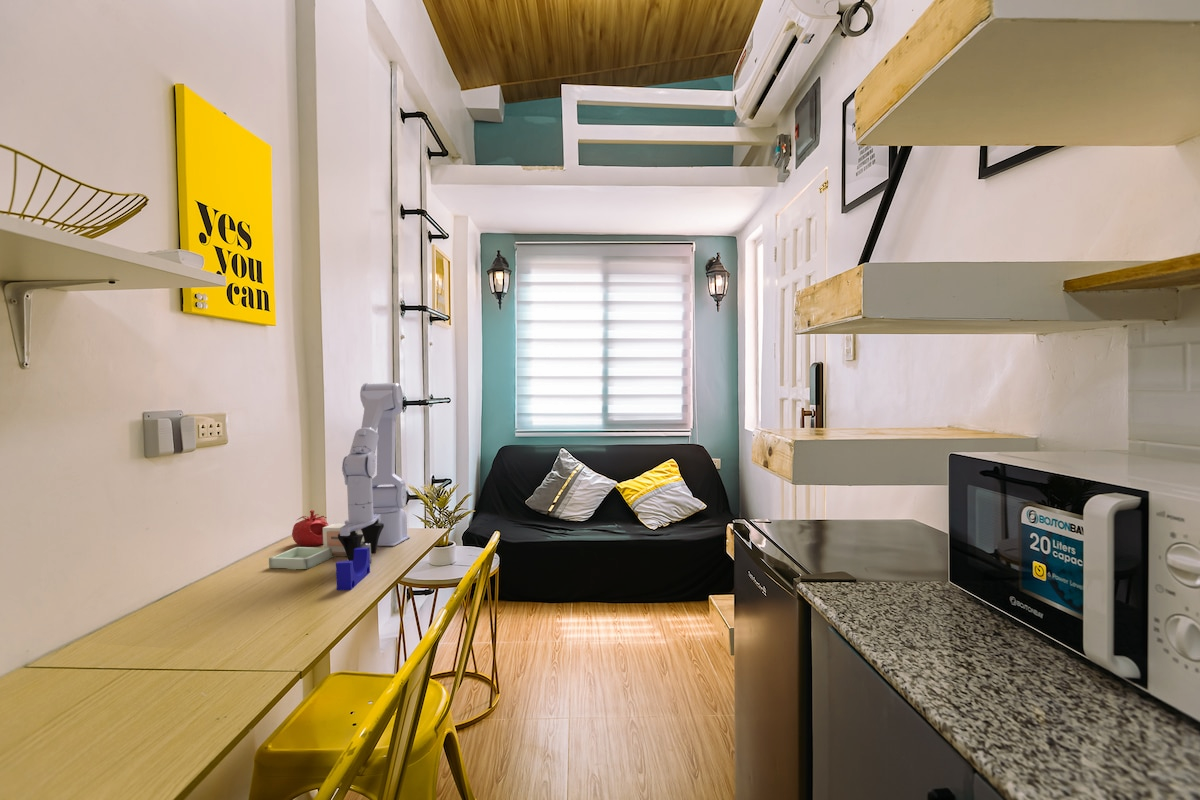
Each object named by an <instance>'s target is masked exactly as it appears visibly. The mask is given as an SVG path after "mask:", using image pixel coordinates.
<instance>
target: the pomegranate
mask: <svg viewBox="0 0 1200 800" xmlns="http://www.w3.org/2000/svg"><path fill="white" fill-rule="evenodd" d="M309 513H310V516H306V515H302V516H300V517H299V518H298V519H296V521H298V520H299V522H296V523H295V524H294V525H293V527H292V531H291V536H292V540H293V541H294V542H295V544H297V545H299V547H316V546H317V547H318V546H320V545H323V527H326V526H328V525H329V523H328V522H327V520H326V519H327V518H328V517H327V516H324V515H321V516H320V514H319V513H317V514H316V513H315V510H310V511H309ZM317 516H318V517H317ZM301 519H302V520H301ZM300 520H301V521H300Z"/></svg>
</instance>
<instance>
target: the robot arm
mask: <svg viewBox="0 0 1200 800" xmlns="http://www.w3.org/2000/svg"><path fill="white" fill-rule="evenodd" d="M403 393H404V392H403V389H402V386H401V384H399V382H393V383H392V382H389V383H388V382H387V383H386V382H382V383H381V382H380V383H367V382H366V383H363V384H362V386H361V387H360V392H359V397H360V401H361V404H362V407H363V408H364V410H363V414H362V416H363V417H362V423H361V428H359V429H357V430H356V431H355V433H354V436H353V439H352V444H351V447H350V451H349V454H348V455H346V456H344V458H343V460H342V466H341V471H342V475H343V478H344V484H345V486H346V487H347V489H346V492H347V513H348V514H347V515H348V519H346V520H344V524H345V525H344V526H343V527H341V528H340V534H338V539H339V541H340V542H341V543H342V545H343V547H344V549H345V552H346V554H347V557H346V558H347V559H348V560H347V561H353V558H354V549H355V548H360V544H361V540H362V537H363V536H364V541H368V542H371V555H375V554H376V552H377V547H378V546H384V547H386V546H387V547H395V546H397V545H398V544H401V543H402V542H404V541H406V540H407V539H409V538H411V535H409V534H408V520H407V519H408V517H407V513H406V511H405V510H404V507H405V506H406V504H407V498H408V495H407V490H406V482H405V480H404V479H403V478H401V477H400V476H398V475H397V474H396V437H397V436H396V433H397V432H396V428H397V427H396V423H397V415H399V414H402V412H403V399H404V398H403V395H404V394H403ZM375 454H376V455H375ZM375 472H376V475H375V476H374V474H375ZM373 476H374V477H373ZM382 485H383V486H382ZM386 485H388V486H386ZM389 485H392V486H389ZM393 485H394V486H393ZM360 529H361V531H362V533H363V534H357V533H356V531H358V530H360Z"/></svg>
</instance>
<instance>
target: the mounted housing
mask: <svg viewBox="0 0 1200 800" xmlns="http://www.w3.org/2000/svg"><path fill="white" fill-rule="evenodd" d="M344 525H345V523H332V524H328V526H326V527H323V544H322V548H332V557H336V556H347V554H346V552H345V549H344V547H343V545H342V543H341V542H340V541H339V539H338V534H340V528H341V527H343V526H344ZM356 533H357V534H363V533H362V531H361V529H360V530H358V531H356ZM363 541H364V536H363V537H362V540H361V542H363Z"/></svg>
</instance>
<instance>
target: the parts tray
mask: <svg viewBox="0 0 1200 800" xmlns="http://www.w3.org/2000/svg"><path fill="white" fill-rule="evenodd" d="M329 558H330V559H332V558H333V556H332V548H323V547H318V546H317V547H316V546H296V547H293V548H291V549H289V550H285V551H283V552H281V553H279V554H276V555H273V556H271V557H269V558H268V567H269V568H288V569H287V570H296V569H307V570H309V569H311V568H313V566H314V567H315V565H316V566H317V564H318V565H320V564H322V563H324V562H326V561H328V560H330V559H329ZM325 560H326V561H325ZM323 561H324V562H323ZM321 562H322V563H321ZM319 563H320V564H319ZM269 568H268V569H269ZM308 568H309V569H308Z"/></svg>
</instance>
